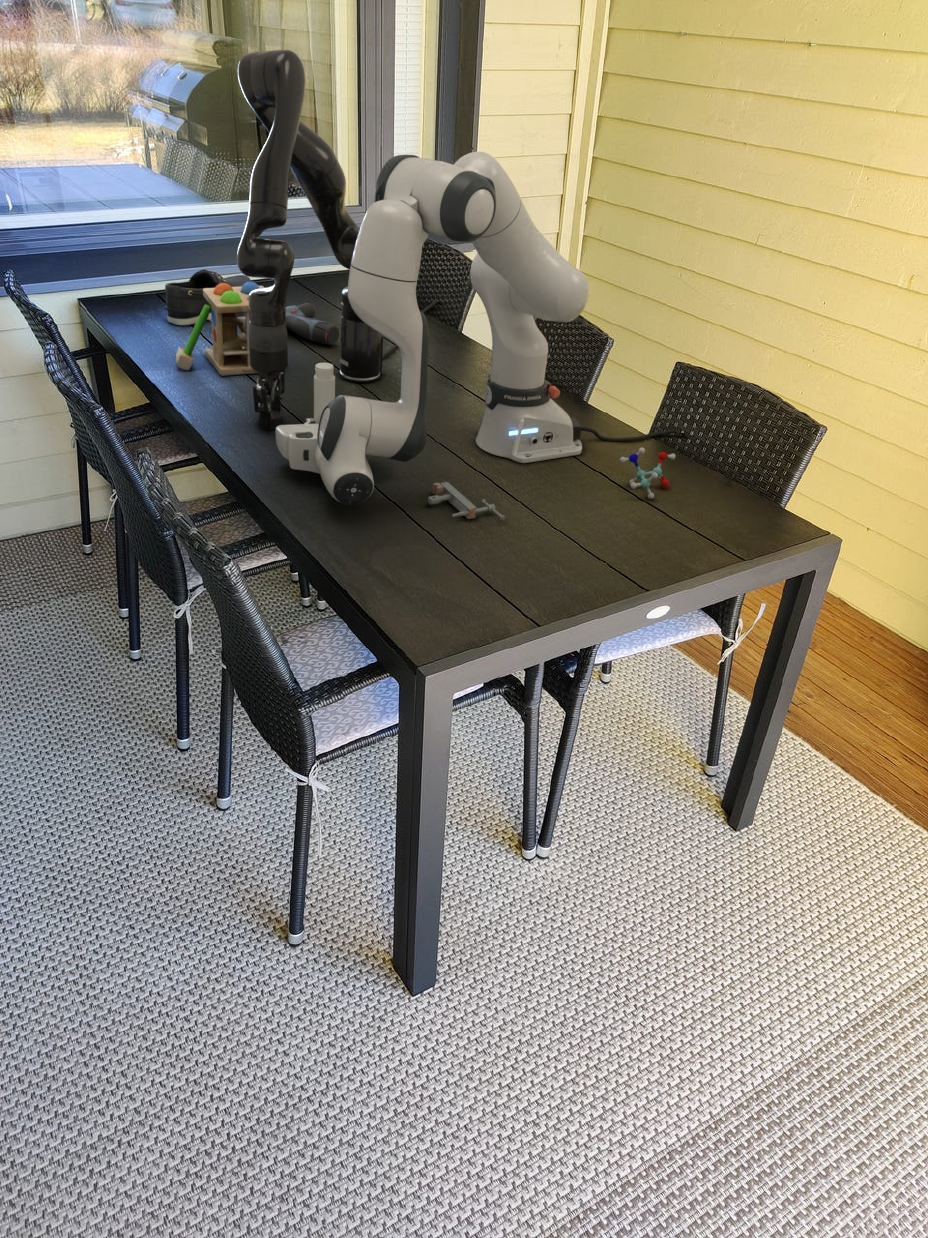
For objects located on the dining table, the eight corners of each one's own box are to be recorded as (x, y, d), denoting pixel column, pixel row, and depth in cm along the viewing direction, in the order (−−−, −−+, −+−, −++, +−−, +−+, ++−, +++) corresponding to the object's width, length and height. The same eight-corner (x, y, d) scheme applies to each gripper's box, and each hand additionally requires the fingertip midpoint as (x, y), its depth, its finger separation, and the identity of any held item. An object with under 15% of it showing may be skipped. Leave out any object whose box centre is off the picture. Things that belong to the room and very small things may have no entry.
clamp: (419, 485, 182) (465, 477, 187) (418, 496, 183) (464, 487, 188) (459, 522, 172) (507, 512, 176) (457, 533, 173) (505, 523, 177)
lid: (283, 429, 203) (283, 419, 202) (258, 429, 202) (258, 419, 201) (282, 420, 207) (281, 409, 206) (258, 420, 206) (257, 409, 205)
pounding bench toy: (183, 379, 220) (176, 299, 210) (169, 357, 231) (162, 280, 221) (282, 371, 230) (280, 294, 220) (264, 350, 240) (262, 276, 230)
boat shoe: (273, 303, 272) (271, 265, 267) (185, 327, 248) (181, 285, 243) (238, 295, 278) (236, 257, 272) (149, 317, 254) (144, 276, 249)
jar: (310, 454, 194) (309, 366, 184) (321, 447, 198) (321, 360, 187) (327, 459, 193) (327, 370, 183) (338, 452, 196) (339, 365, 186)
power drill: (365, 313, 253) (305, 296, 261) (318, 330, 240) (256, 311, 248) (364, 334, 256) (305, 316, 264) (318, 351, 243) (257, 332, 251)
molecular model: (677, 492, 186) (662, 441, 184) (629, 506, 189) (614, 457, 188) (684, 485, 196) (670, 436, 195) (639, 499, 200) (624, 451, 198)
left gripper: (261, 330, 201) (264, 407, 210) (238, 353, 189) (241, 433, 199) (297, 335, 200) (297, 412, 210) (275, 358, 189) (277, 438, 198)
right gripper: (391, 432, 183) (375, 404, 194) (281, 437, 177) (271, 407, 188) (390, 463, 186) (374, 433, 197) (282, 469, 181) (271, 438, 191)
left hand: (270, 422), depth 204 cm, fingers open, 6 cm apart
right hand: (323, 421), depth 192 cm, fingers closed on jar, 4 cm apart
